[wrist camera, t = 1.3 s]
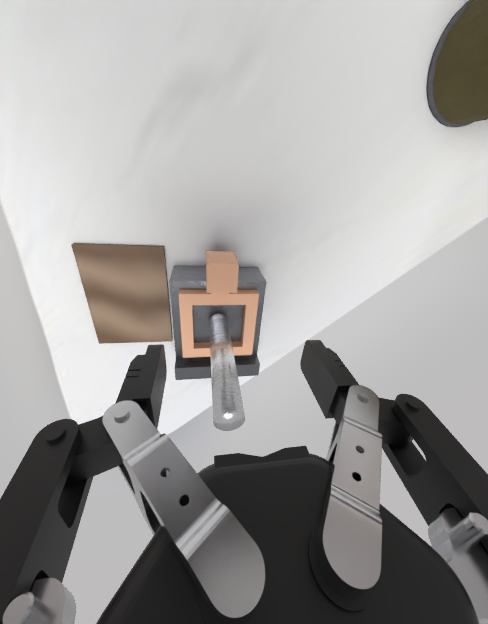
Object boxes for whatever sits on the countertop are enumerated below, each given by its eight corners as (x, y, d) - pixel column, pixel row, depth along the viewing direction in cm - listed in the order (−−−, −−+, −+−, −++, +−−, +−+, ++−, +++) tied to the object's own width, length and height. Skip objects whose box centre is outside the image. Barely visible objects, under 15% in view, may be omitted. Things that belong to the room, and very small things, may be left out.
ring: (176, 250, 25) (172, 262, 22) (261, 252, 27) (269, 264, 23) (183, 351, 32) (181, 373, 28) (250, 349, 33) (256, 369, 30)
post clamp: (173, 265, 31) (143, 371, 15) (257, 267, 33) (312, 362, 17) (180, 356, 38) (165, 492, 22) (248, 353, 40) (280, 477, 24)
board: (73, 243, 28) (71, 244, 27) (163, 246, 30) (163, 247, 29) (100, 340, 35) (99, 343, 34) (172, 338, 37) (172, 341, 36)
